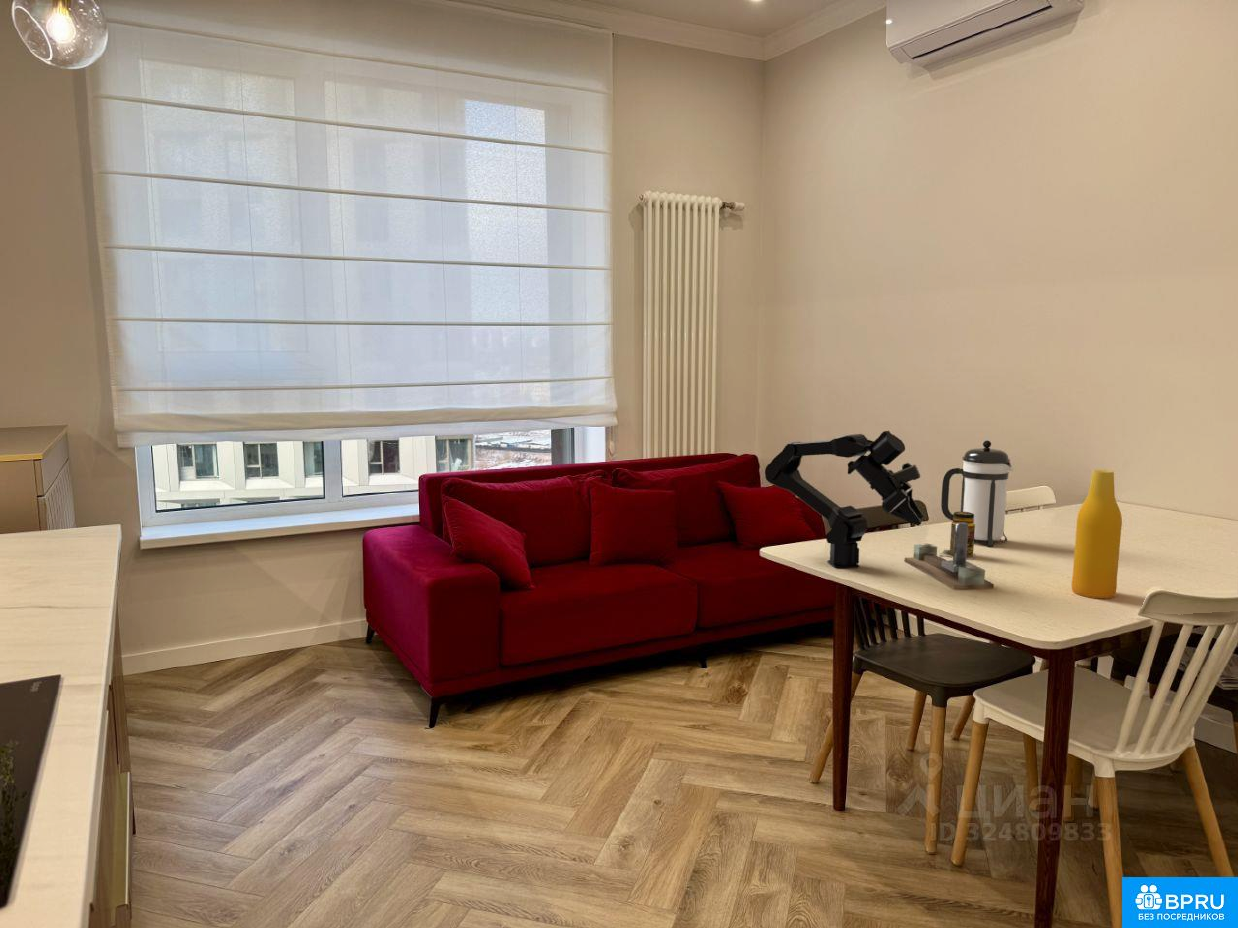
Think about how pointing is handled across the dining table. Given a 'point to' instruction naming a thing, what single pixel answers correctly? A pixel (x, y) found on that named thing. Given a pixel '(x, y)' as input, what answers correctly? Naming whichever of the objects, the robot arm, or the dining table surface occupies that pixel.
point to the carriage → (959, 549)
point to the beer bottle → (1097, 540)
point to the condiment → (969, 519)
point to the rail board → (944, 575)
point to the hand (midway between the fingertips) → (921, 521)
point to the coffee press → (982, 491)
